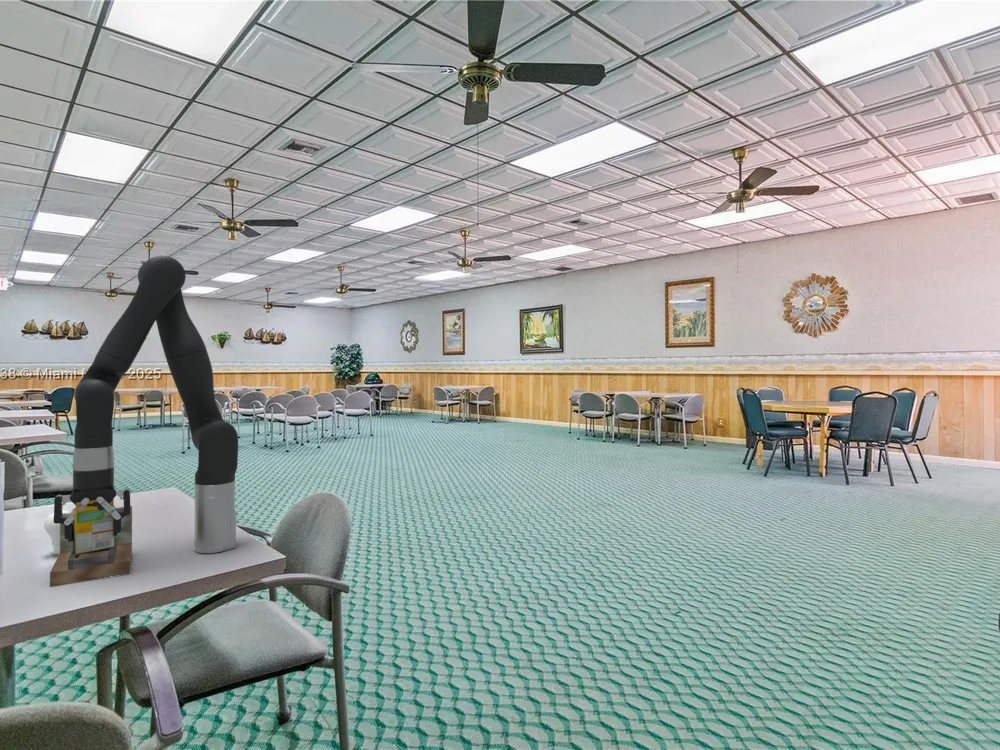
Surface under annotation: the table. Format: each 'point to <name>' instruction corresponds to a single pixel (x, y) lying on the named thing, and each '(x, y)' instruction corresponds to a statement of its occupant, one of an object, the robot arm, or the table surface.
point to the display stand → (93, 558)
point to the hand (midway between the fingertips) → (93, 537)
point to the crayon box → (92, 528)
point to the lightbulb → (54, 531)
